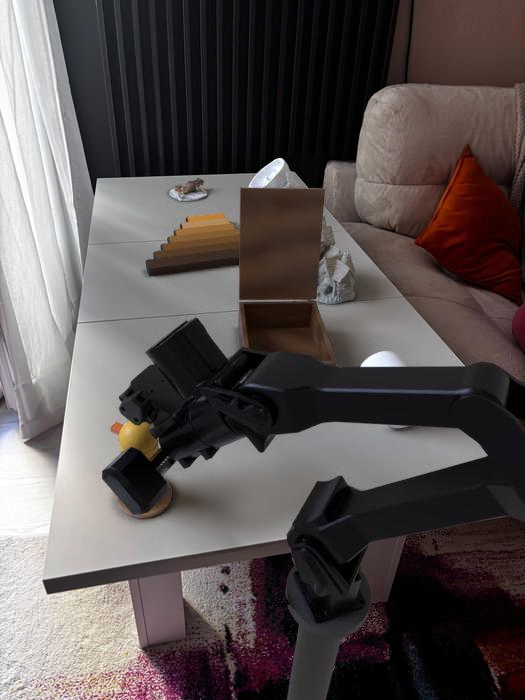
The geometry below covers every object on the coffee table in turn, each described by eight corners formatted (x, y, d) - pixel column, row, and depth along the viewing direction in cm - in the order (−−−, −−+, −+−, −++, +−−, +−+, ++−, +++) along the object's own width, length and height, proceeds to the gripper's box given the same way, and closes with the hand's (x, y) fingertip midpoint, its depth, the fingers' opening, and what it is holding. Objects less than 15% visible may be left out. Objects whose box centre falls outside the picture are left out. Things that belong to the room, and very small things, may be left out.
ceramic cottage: (265, 275, 124) (273, 213, 115) (330, 269, 130) (343, 209, 121) (292, 314, 113) (303, 248, 104) (362, 305, 119) (378, 242, 110)
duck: (169, 488, 73) (164, 418, 66) (148, 513, 70) (140, 442, 63) (132, 471, 76) (123, 401, 68) (110, 494, 72) (98, 424, 65)
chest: (332, 393, 92) (337, 363, 88) (245, 395, 90) (246, 365, 87) (312, 328, 108) (316, 300, 104) (238, 329, 106) (238, 301, 103)
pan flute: (149, 277, 122) (255, 262, 130) (148, 263, 120) (255, 249, 128) (128, 232, 140) (222, 222, 148) (127, 219, 138) (222, 210, 146)
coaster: (177, 510, 71) (177, 507, 71) (122, 524, 69) (122, 521, 69) (165, 471, 77) (165, 468, 76) (114, 483, 74) (114, 480, 74)
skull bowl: (310, 197, 163) (291, 162, 155) (269, 223, 165) (249, 190, 157) (300, 185, 171) (282, 151, 163) (262, 210, 173) (242, 177, 165)
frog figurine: (193, 184, 172) (193, 172, 169) (216, 196, 164) (215, 183, 162) (161, 191, 166) (160, 178, 163) (183, 203, 158) (182, 190, 156)
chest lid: (325, 189, 95) (320, 184, 99) (240, 188, 93) (238, 183, 97) (316, 299, 104) (312, 291, 108) (239, 300, 102) (237, 292, 106)
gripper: (212, 320, 64) (143, 366, 74) (104, 414, 50) (38, 455, 61) (269, 394, 66) (194, 430, 76) (180, 504, 52) (103, 529, 62)
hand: (138, 456), depth 69 cm, fingers open, 9 cm apart
